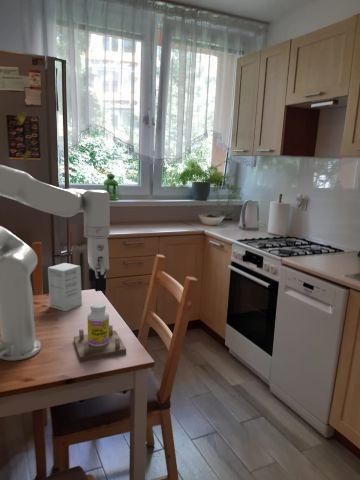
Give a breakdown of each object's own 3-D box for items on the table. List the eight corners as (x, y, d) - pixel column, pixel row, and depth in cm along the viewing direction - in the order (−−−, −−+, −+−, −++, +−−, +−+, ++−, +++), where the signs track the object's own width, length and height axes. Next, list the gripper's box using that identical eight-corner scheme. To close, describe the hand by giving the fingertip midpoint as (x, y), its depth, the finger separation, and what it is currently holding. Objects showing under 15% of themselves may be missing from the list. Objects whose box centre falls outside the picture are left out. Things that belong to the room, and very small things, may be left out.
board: (126, 353, 115) (126, 340, 114) (80, 361, 110) (80, 347, 109) (115, 334, 128) (115, 322, 127) (73, 341, 122) (73, 328, 121)
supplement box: (82, 304, 153) (81, 265, 150) (65, 312, 146) (64, 271, 142) (66, 300, 158) (64, 262, 155) (48, 306, 150) (47, 267, 147)
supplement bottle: (88, 348, 114) (87, 309, 112) (87, 339, 121) (86, 302, 118) (110, 346, 116) (109, 307, 114) (108, 336, 123) (107, 300, 120)
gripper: (116, 236, 105) (115, 293, 108) (103, 226, 120) (103, 276, 124) (89, 237, 102) (89, 296, 105) (79, 226, 117) (80, 278, 121)
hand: (97, 285), depth 114 cm, fingers open, 9 cm apart
